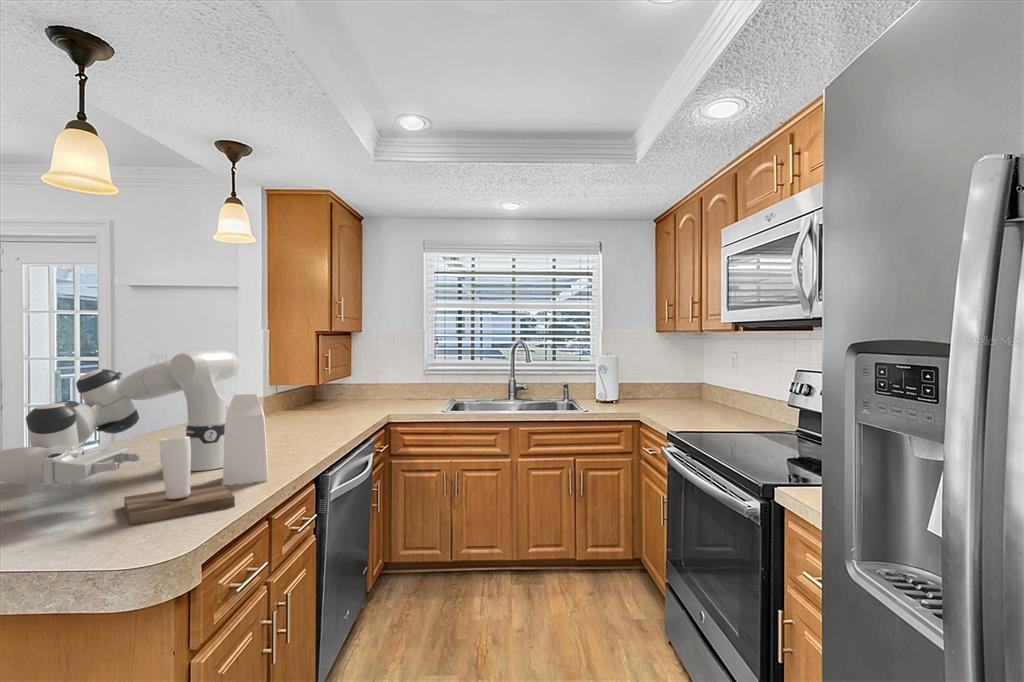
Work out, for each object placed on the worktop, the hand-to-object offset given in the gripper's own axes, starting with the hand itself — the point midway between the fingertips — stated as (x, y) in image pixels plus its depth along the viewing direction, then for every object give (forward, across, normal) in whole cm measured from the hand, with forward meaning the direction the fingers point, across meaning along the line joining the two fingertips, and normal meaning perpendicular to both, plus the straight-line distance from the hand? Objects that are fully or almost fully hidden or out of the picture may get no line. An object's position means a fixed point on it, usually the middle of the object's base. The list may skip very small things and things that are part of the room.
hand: (128, 461), depth 139 cm
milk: (+20, -26, -12) cm, 35 cm away
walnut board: (+12, 0, -12) cm, 17 cm away
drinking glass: (+12, +2, -9) cm, 16 cm away
